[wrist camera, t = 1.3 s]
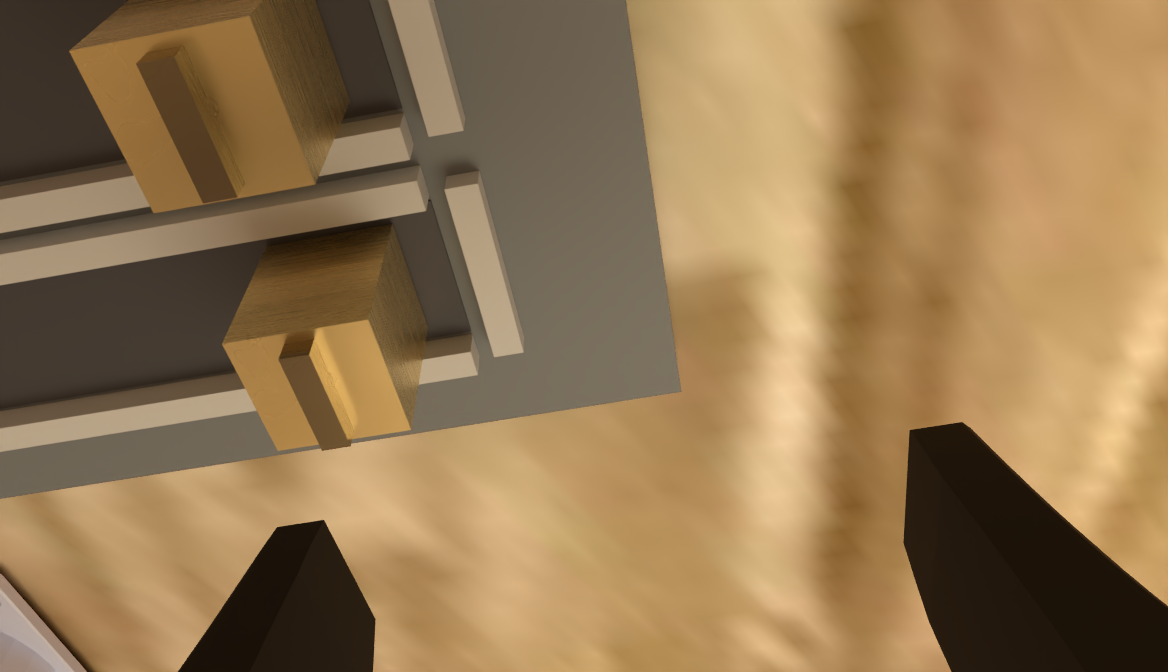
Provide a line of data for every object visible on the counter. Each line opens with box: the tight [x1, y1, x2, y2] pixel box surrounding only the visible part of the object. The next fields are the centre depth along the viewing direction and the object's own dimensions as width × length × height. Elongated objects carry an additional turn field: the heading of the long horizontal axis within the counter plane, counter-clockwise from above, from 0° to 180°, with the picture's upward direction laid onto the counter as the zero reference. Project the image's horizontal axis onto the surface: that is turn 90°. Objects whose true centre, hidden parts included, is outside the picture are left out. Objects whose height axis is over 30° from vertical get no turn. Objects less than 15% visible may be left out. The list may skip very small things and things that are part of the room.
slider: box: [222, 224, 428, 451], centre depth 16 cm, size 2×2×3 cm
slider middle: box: [69, 0, 350, 213], centre depth 13 cm, size 2×2×3 cm
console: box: [0, 0, 681, 499], centre depth 16 cm, size 16×20×2 cm
